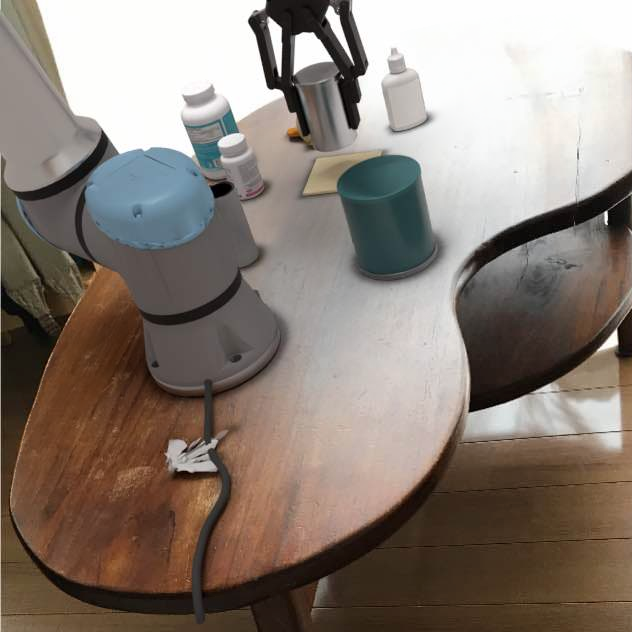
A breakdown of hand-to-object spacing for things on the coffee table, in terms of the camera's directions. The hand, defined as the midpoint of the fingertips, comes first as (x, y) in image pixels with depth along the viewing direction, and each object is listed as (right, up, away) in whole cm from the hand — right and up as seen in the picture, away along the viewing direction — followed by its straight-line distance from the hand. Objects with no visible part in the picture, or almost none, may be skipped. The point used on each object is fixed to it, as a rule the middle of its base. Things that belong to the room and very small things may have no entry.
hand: (331, 128), depth 121 cm
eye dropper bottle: (+11, +4, +12) cm, 17 cm away
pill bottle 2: (-12, -8, +7) cm, 16 cm away
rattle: (-3, +3, +16) cm, 16 cm away
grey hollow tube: (-11, -19, -7) cm, 23 cm away
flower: (-12, -42, -33) cm, 55 cm away
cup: (0, -1, +1) cm, 2 cm away
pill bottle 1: (-17, -3, +14) cm, 22 cm away
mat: (+2, -5, +4) cm, 7 cm away
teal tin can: (+8, -19, -15) cm, 26 cm away
